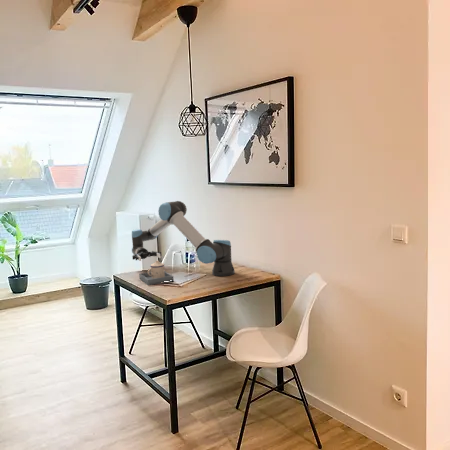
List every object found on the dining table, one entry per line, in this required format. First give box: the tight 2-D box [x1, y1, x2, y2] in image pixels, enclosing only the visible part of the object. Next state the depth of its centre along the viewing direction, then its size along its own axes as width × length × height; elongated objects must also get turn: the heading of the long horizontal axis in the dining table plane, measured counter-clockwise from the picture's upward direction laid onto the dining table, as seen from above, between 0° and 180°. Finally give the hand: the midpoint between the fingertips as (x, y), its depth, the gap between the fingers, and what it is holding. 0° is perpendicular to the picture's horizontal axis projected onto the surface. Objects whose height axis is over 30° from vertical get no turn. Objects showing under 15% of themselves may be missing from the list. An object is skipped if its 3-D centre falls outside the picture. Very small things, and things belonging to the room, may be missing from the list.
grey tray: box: [138, 270, 174, 286], centre depth 311 cm, size 17×20×4 cm
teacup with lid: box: [147, 260, 165, 279], centre depth 310 cm, size 12×9×12 cm
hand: (150, 257), depth 318 cm, fingers open, 13 cm apart
